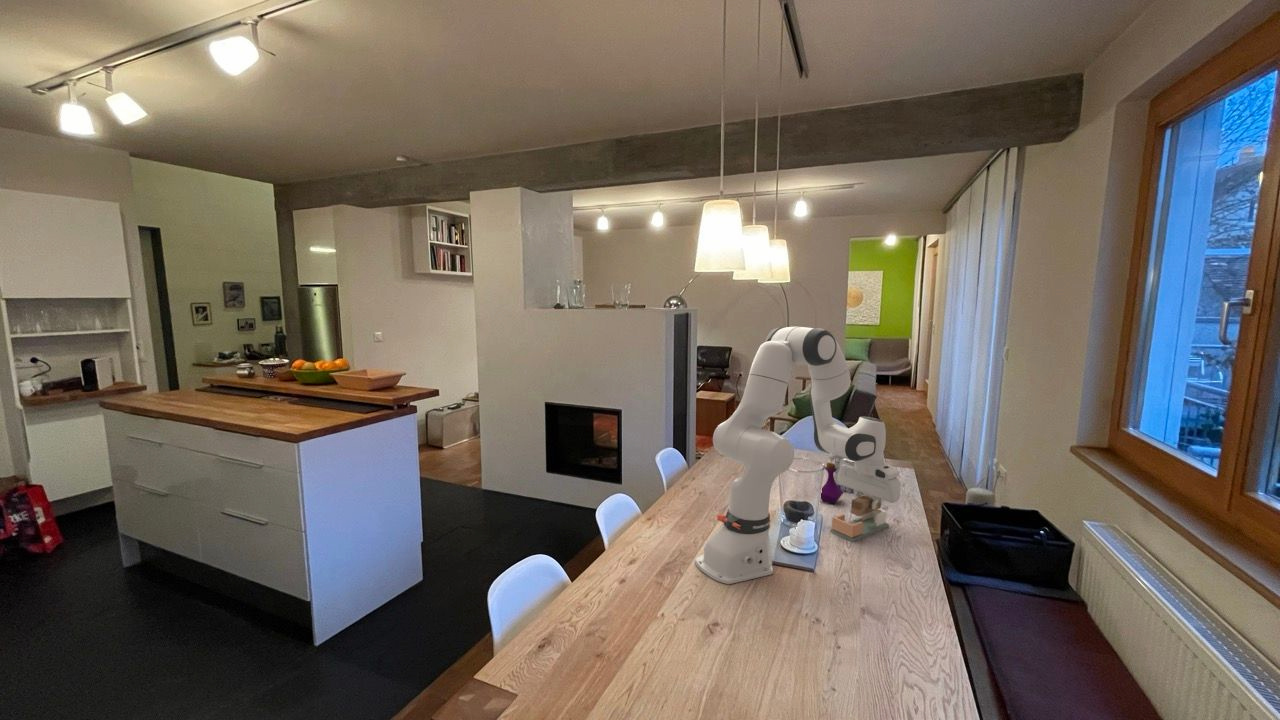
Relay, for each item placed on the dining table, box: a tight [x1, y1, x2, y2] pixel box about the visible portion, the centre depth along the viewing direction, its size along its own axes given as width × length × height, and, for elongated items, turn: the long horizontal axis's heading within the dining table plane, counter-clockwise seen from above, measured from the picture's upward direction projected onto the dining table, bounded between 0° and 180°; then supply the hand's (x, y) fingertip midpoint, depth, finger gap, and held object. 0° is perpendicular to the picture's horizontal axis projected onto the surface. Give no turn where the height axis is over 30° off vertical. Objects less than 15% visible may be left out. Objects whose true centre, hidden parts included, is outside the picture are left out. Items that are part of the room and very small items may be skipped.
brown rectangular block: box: [850, 494, 882, 518], centre depth 161 cm, size 12×3×4 cm, turn 123°
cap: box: [831, 513, 863, 537], centre depth 156 cm, size 6×7×4 cm
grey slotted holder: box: [830, 508, 890, 543], centre depth 160 cm, size 20×8×5 cm, turn 123°
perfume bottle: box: [820, 453, 844, 505], centre depth 183 cm, size 8×8×18 cm
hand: (866, 505), depth 161 cm, fingers closed on brown rectangular block, 3 cm apart
